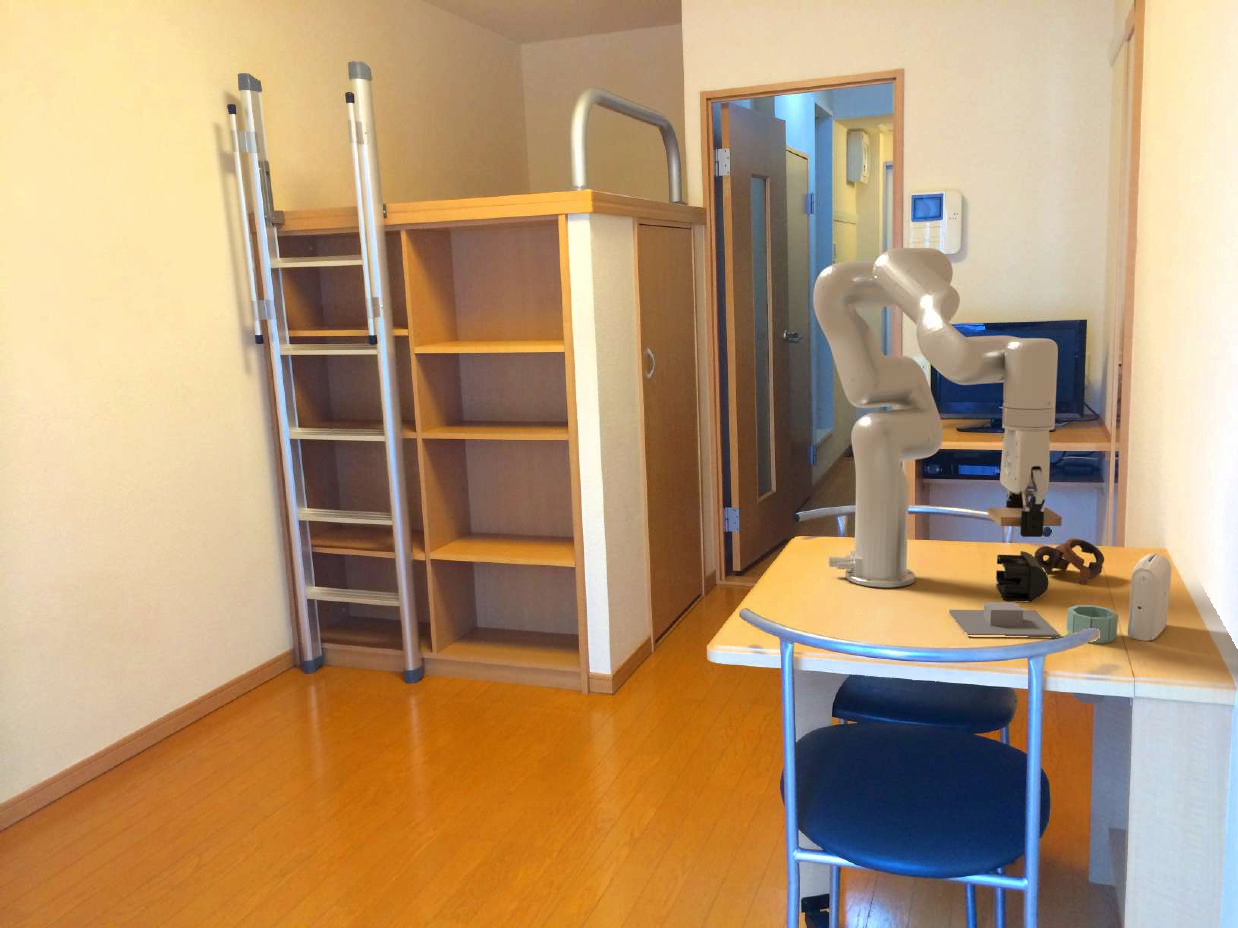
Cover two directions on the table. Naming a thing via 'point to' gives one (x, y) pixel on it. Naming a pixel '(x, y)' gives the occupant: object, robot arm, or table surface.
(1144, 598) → the photo printer
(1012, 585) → the end cap
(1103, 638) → the ceramic bowl
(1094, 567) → the brown piece
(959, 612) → the rubber mat
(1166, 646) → the table surface
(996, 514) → the walnut board
